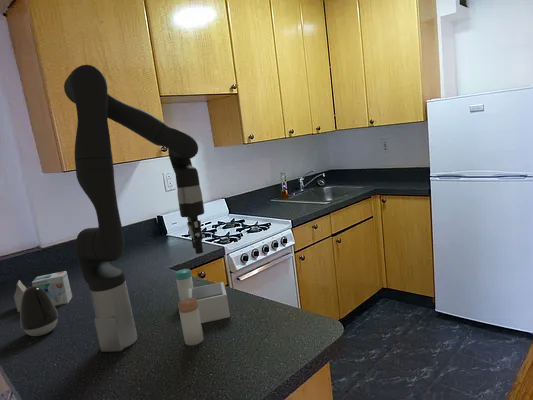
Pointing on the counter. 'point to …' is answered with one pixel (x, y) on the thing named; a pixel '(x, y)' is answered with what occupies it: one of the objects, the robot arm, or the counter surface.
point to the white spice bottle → (190, 321)
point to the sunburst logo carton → (19, 294)
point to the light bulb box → (55, 287)
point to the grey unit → (211, 301)
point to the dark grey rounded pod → (37, 312)
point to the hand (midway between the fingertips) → (197, 250)
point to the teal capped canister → (184, 283)
